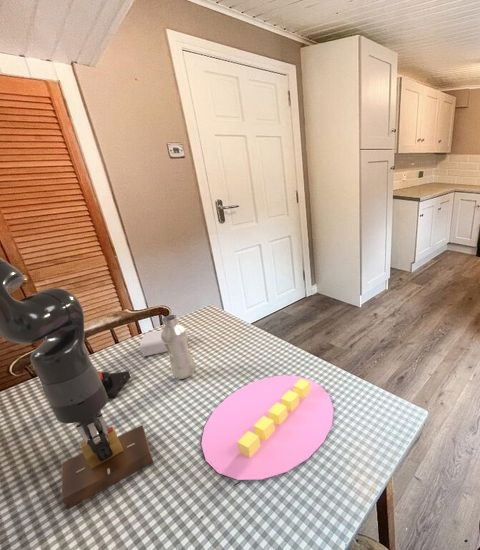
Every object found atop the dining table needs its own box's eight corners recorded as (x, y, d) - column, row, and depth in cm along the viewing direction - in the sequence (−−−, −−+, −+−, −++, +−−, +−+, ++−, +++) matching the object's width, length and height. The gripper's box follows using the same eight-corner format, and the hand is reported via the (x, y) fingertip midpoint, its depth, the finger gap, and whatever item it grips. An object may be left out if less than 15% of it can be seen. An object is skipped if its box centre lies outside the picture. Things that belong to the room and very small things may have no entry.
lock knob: (90, 469, 62) (80, 447, 60) (89, 464, 63) (78, 442, 61) (123, 450, 66) (114, 429, 64) (121, 446, 67) (112, 425, 65)
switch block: (64, 405, 82) (58, 394, 80) (85, 383, 90) (80, 372, 88) (114, 398, 84) (110, 387, 82) (130, 376, 92) (126, 366, 91)
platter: (355, 396, 84) (355, 387, 83) (276, 509, 58) (274, 497, 56) (267, 364, 97) (266, 355, 96) (170, 443, 71) (167, 433, 70)
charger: (194, 346, 106) (143, 358, 101) (195, 333, 114) (148, 343, 108) (191, 335, 105) (139, 346, 99) (193, 322, 112) (145, 332, 107)
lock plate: (67, 509, 58) (61, 499, 57) (67, 472, 65) (62, 461, 63) (153, 462, 67) (149, 452, 65) (145, 433, 73) (142, 424, 72)
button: (83, 386, 84) (81, 381, 83) (91, 377, 87) (89, 372, 86) (98, 384, 84) (96, 379, 84) (106, 375, 88) (104, 370, 87)
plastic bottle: (193, 364, 97) (178, 309, 90) (200, 374, 93) (185, 318, 85) (170, 374, 93) (153, 317, 86) (176, 385, 89) (158, 326, 81)
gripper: (44, 384, 59) (76, 447, 66) (53, 421, 51) (88, 490, 57) (94, 365, 64) (119, 425, 71) (108, 396, 56) (135, 461, 63)
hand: (105, 454), depth 64 cm, fingers closed on lock knob
